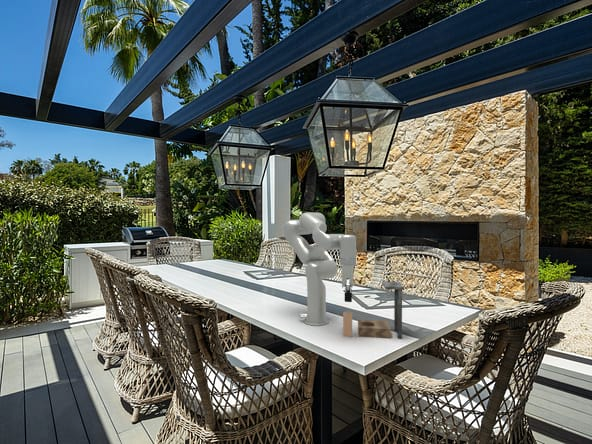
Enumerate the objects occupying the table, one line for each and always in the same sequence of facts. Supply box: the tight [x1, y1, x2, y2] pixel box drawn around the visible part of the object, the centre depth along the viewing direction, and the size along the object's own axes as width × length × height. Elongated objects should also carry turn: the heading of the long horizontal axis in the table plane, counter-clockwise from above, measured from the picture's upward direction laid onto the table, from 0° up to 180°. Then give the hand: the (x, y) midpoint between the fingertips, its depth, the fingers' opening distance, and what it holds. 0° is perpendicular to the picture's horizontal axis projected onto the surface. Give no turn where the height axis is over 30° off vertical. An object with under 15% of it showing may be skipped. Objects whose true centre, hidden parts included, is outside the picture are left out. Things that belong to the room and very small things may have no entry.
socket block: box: [357, 281, 405, 340], centre depth 154 cm, size 20×12×23 cm, turn 81°
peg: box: [342, 311, 353, 338], centre depth 152 cm, size 4×4×10 cm
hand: (348, 299), depth 151 cm, fingers open, 9 cm apart
